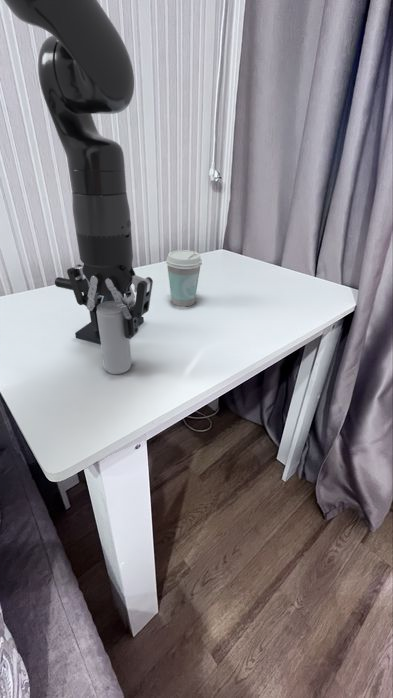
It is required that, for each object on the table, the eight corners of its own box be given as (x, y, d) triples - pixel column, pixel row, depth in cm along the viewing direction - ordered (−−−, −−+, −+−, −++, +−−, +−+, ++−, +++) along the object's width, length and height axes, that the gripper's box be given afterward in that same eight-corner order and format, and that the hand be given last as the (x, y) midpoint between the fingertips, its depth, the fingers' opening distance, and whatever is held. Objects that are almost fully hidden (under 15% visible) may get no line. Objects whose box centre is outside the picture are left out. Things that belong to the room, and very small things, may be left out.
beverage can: (137, 365, 60) (133, 305, 53) (118, 379, 56) (111, 316, 50) (117, 357, 62) (111, 297, 55) (98, 369, 59) (89, 308, 52)
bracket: (113, 347, 65) (106, 286, 58) (75, 337, 67) (64, 277, 60) (143, 321, 74) (141, 265, 67) (109, 313, 77) (103, 259, 70)
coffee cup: (179, 312, 79) (180, 262, 72) (159, 299, 84) (158, 252, 78) (207, 303, 83) (209, 256, 77) (186, 292, 89) (187, 247, 82)
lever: (80, 295, 54) (80, 280, 54) (54, 289, 56) (54, 275, 55) (121, 288, 66) (121, 275, 65) (98, 283, 67) (99, 271, 66)
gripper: (42, 226, 45) (64, 333, 54) (134, 239, 41) (142, 353, 50) (78, 217, 51) (92, 315, 60) (161, 227, 47) (164, 331, 56)
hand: (115, 332), depth 55 cm, fingers open, 5 cm apart
